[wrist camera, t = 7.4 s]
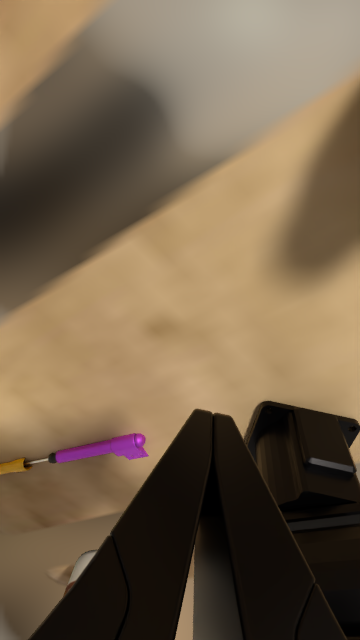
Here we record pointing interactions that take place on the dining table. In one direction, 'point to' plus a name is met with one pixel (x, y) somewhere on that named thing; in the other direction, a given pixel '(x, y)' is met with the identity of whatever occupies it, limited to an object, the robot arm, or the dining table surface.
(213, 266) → the dining table surface
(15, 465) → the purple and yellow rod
